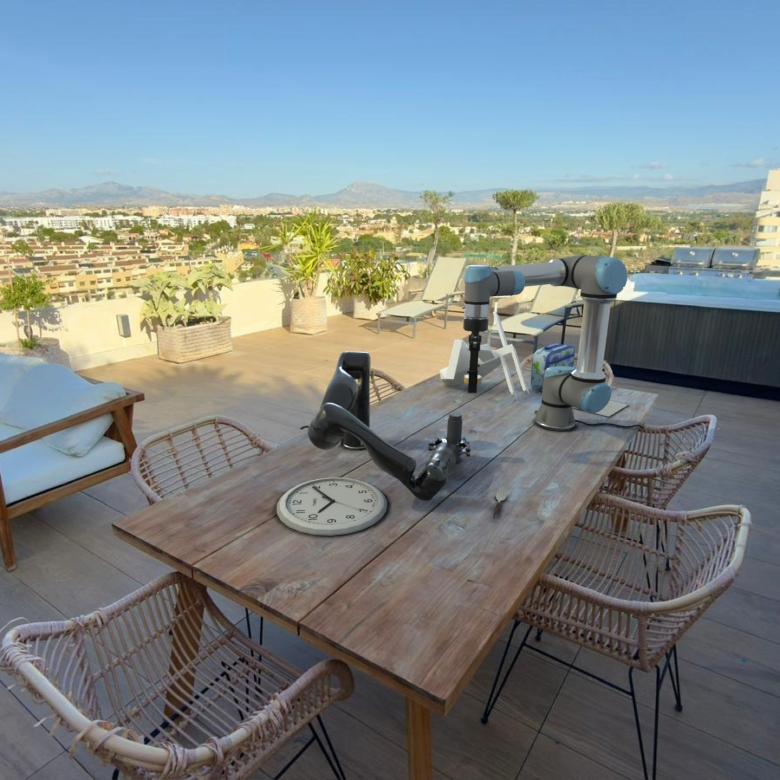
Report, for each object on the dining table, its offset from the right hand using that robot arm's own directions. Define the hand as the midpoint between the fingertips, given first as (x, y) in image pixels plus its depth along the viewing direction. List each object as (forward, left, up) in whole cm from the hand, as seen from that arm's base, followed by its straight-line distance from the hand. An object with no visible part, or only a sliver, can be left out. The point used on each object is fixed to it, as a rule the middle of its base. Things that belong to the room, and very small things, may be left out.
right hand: (472, 389), depth 166 cm
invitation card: (-59, -62, -24) cm, 89 cm away
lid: (0, 0, +4) cm, 4 cm away
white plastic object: (-7, -74, -24) cm, 78 cm away
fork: (-8, +31, -24) cm, 40 cm away
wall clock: (+37, +37, -24) cm, 58 cm away
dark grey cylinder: (+5, +2, -24) cm, 24 cm away
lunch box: (-42, -87, -24) cm, 100 cm away
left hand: (+4, -1, -17) cm, 18 cm away
